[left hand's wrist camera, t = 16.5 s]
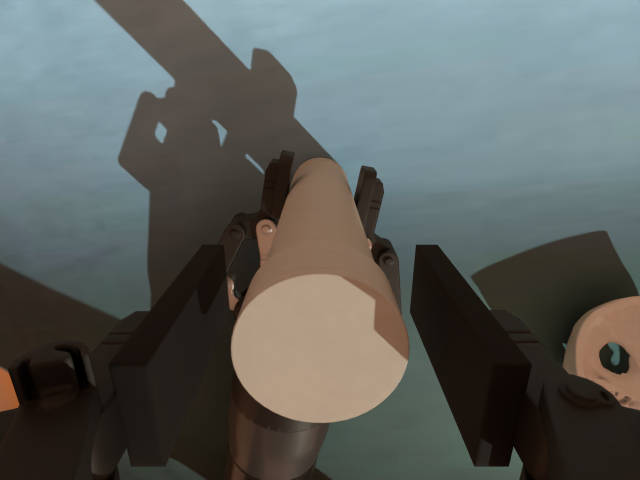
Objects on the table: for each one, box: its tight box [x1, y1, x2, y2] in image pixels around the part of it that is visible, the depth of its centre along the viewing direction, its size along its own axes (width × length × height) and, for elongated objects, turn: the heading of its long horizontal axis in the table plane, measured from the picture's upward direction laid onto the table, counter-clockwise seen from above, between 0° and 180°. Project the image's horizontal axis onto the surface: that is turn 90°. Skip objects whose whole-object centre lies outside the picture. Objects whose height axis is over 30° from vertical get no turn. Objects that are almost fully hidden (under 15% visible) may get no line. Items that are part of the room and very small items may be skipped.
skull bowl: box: [562, 296, 640, 410], centre depth 32 cm, size 10×14×12 cm
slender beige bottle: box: [266, 157, 374, 261], centre depth 20 cm, size 4×4×20 cm
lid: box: [231, 241, 409, 423], centre depth 11 cm, size 5×5×2 cm
